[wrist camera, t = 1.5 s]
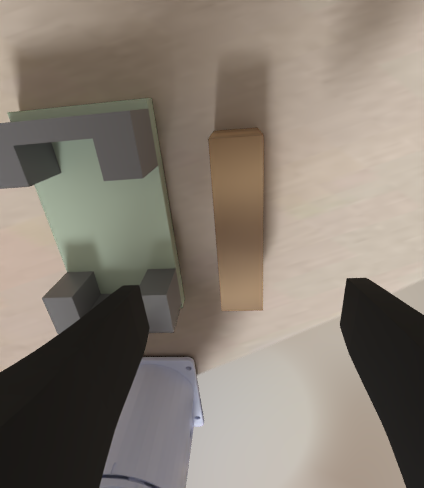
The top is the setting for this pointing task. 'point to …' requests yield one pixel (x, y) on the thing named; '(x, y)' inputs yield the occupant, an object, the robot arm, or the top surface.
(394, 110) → the top surface
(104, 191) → the base board
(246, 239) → the slat
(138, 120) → the end caps
